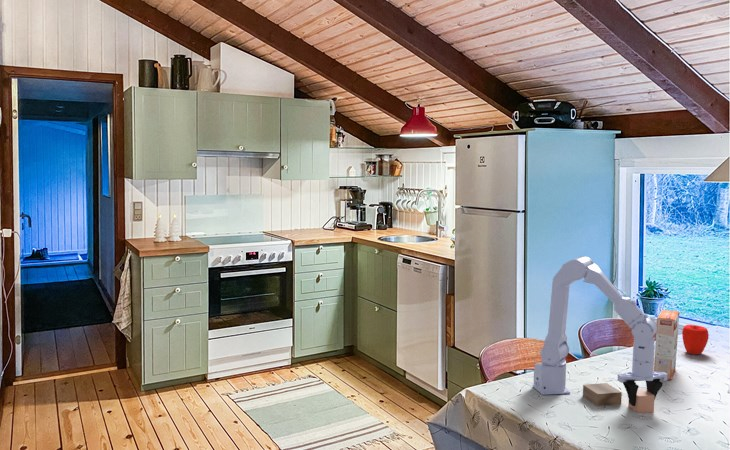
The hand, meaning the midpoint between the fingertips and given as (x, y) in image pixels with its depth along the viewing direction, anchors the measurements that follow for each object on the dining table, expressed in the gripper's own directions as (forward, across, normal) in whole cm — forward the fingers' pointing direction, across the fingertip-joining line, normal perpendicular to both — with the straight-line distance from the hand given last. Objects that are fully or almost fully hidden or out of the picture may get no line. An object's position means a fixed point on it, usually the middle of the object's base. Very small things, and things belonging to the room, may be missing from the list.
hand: (641, 404), depth 184 cm
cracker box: (+2, +26, +28) cm, 38 cm away
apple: (+2, +51, +48) cm, 70 cm away
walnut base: (+2, -8, +8) cm, 11 cm away
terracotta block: (+1, 0, 0) cm, 1 cm away
